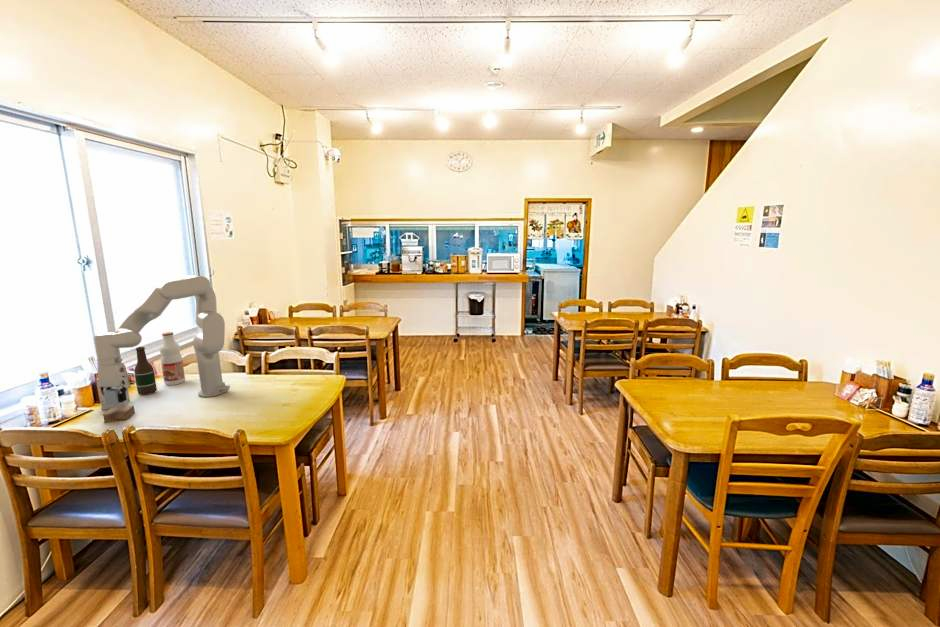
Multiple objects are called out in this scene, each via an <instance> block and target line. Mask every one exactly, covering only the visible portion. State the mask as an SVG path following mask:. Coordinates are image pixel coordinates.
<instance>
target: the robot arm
mask: <svg viewBox="0 0 940 627" xmlns="http://www.w3.org/2000/svg"><path fill="white" fill-rule="evenodd" d="M189 297H194V298H195V305H196V308H195V309H196V310H195V323H196V325H197V326H198V327H199V328H200V329H202V331H201V332H199V333H197V334H196V335H195V336H194V338H193V340H192V341H193V342H192V343H193V344H192V345H193V350H194V353H195V357H196V362H197V369H198V378H199V382H200V389H201V390H200V391H198V395H197V396H198V397H201V398H209V397H215V396H221V395H222V394H225V393H226V392H227V391H229V390H230V387H231V386H230V384H229V385H228V384H227V385H226V382H223V376H222V367H221V360H220V358H221V357H220V354H219V353H220V352H221V351H222V349H224V347H225V346H224V345H225V336H226V335H225V333H226V332H225V331H226V330H225V329H226V326H225V324H226V323H225V320H224V317H223V316H222V315H221V313H219V312H218V311H217V309H218V308H217V296H216V293H215V290H214V289H213V288H212V285H211V282H210V280H209V279H208V278H207V277H205V276H203V275H197V274H190V275H187V276H185V278H184V279H183V278H181V279H177V280H170V279H164V280H160V281H159V282H158V283H157V284H156V285H155V286H154V287H153V289H152V290H151V291H150V293H149V294H148V295H147V297H146V298H145V299H144V300H143V301H142V302H141V303H140V305H139V306H138V307H137V308H136V309H134V311H133V312H131V314H129V315H128V316H127V318H126V319H125V320H124V321H123V322H122V324H120V326H119V328H117V330H116V331H115V332H113V331H109V332H108V331H107V332H100V333H96V334H95V335H94V337H93V340H94V346H95V352H96V357H97V363H98V365H97V378H98V381H99V382H98V384H97V383H96V387H97V388H98V387H99V388H100V389H101V390H102V391H103V393H104V391H106V390H108V389H111V388H112V387H116V388H117V390H118V392H119V394H118V399H119V402H123V401H125V400H126V393H125V392H126V391H127V389H128V390H129V388H130V387H131V386H132V384H131V383H130V381H129V375H128V371H127V368H126V366H125V364H124V362H123V358H122V357H121V352H120V351H121V350H120V349H124V348H125V349H127V348H135V347H137V346H138V345H140V344H141V343H142V339H143V338H142V334H140V332H141V331H142V329H143V328H144V327H146V325H147V324H149V323H150V322H151V321H154V320H156V319H157V318H159V317H161V315H162V314H163V313H164V311H165V310H166V309H167V307H168V306H169V305H170V303H171V302H172V301H173V300H179V299H181V300H182V299H186V298H189ZM120 387H122V389H121V388H120Z"/></svg>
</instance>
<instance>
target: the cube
mask: <svg viewBox="0 0 940 627" xmlns="http://www.w3.org/2000/svg"><path fill="white" fill-rule="evenodd" d="M120 388H121V389H122V387H120ZM125 393H126V392H125ZM118 394H119V392H118V390H117V388H116V387H113V388H111V389H108V390H106V391H104V395H105V401H106V404H110V405H117V404H120V403H122V402H119V399H118ZM126 400H127V397H126ZM126 400H125V401H126ZM123 402H124V401H123Z"/></svg>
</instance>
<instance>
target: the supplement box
mask: <svg viewBox="0 0 940 627" xmlns="http://www.w3.org/2000/svg"><path fill="white" fill-rule="evenodd" d="M98 382H99V381H98V377H97V378H96V385H97V384H98ZM112 388H113V387H112ZM97 390H98V391H97V392H98V395H99V400H100V406H101V410H110V409H111V408H114V407H123V406H128V405H127V404H128V403H129V402H130V400H131V399H130V393H129V388H128V389H127V391H126V397H127V400H126V401H124V402H122V403H120V404H117V405H110V404H106V401H105V395H104V393H103V391H102V390H101V389H100V388H99V387H98V386H97Z"/></svg>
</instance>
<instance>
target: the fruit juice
mask: <svg viewBox="0 0 940 627" xmlns="http://www.w3.org/2000/svg"><path fill="white" fill-rule="evenodd" d="M161 336H162V338H163V339H162V344H161V345H160V346H159V353H160V355H161V356H160V363H161V364H160V365H161V370H162V376H163V381H164V382H163V383H164V385H166V386H175V385H178V384H182V383H185V381H186V376H185V375H186V374H185V369H184V362H183V357H182V354H181V345H180V344H179V343H178V342H176V340H175V339H174V332H173V331H166V332H162V334H161Z"/></svg>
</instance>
